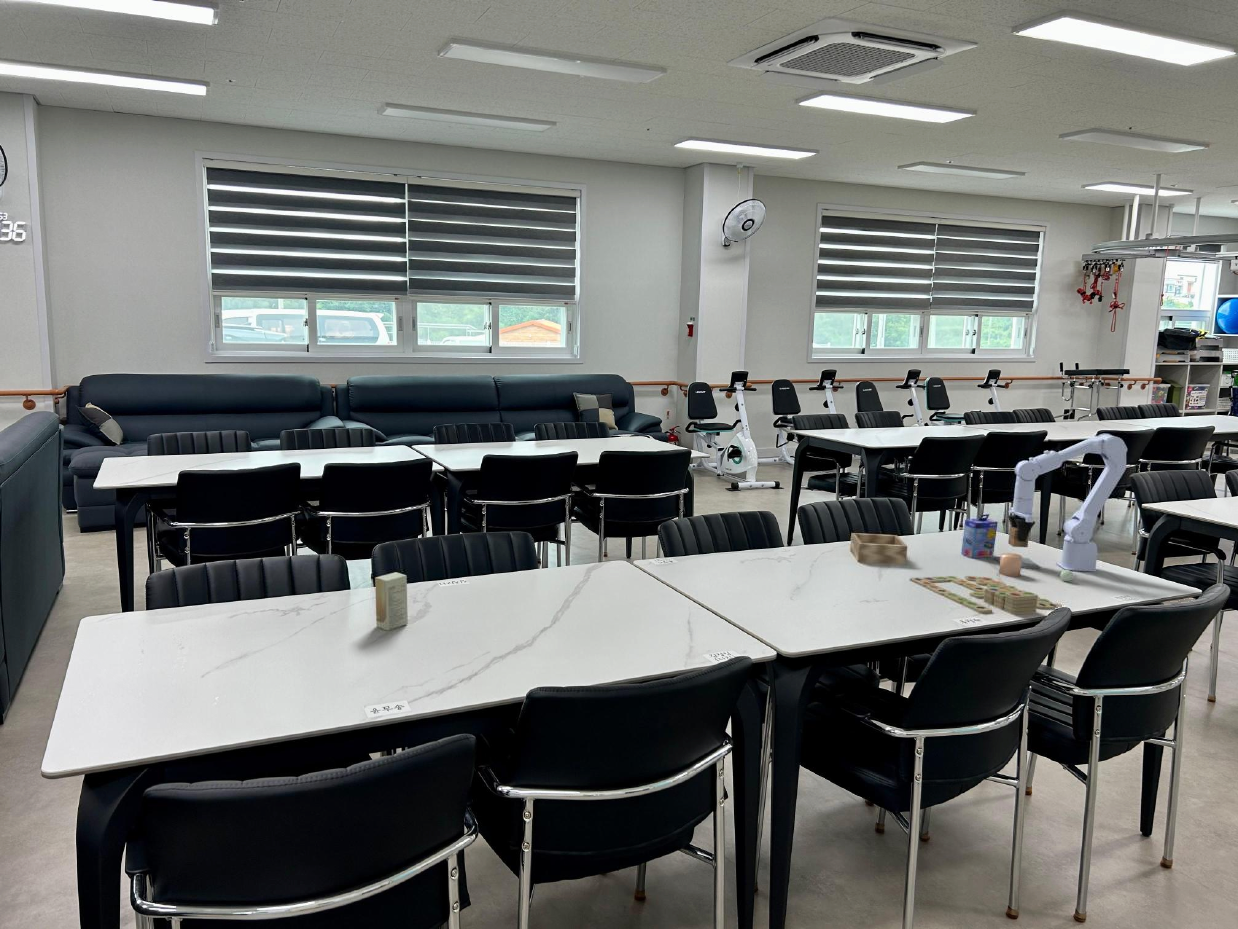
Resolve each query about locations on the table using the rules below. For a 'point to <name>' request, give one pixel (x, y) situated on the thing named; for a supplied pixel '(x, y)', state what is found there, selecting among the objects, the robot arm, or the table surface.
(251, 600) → the table surface
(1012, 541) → the walnut block
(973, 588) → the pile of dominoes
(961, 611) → the table surface
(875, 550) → the holder corral
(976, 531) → the blue box with handle
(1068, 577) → the sage ball
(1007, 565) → the peach domed cylinder
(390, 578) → the skincare box
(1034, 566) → the slate pad
